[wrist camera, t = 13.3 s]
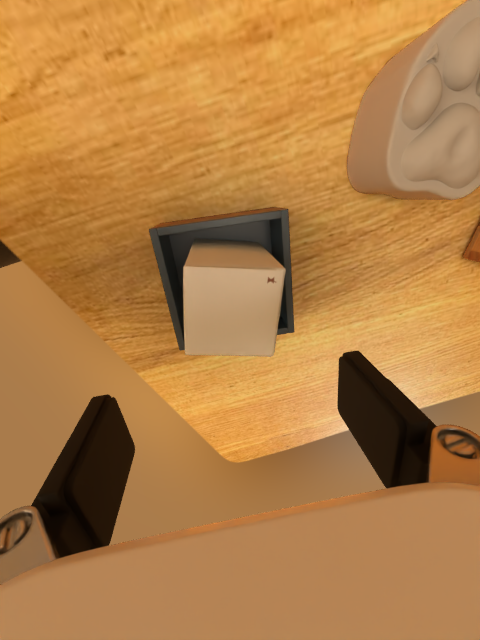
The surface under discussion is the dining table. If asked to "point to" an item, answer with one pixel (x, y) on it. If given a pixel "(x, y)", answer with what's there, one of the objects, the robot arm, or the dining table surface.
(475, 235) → the tray
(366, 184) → the lumpy-topped squat cylinder
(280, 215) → the dark grey storage bin
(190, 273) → the white packaging box
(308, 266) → the dining table surface
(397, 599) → the robot arm
